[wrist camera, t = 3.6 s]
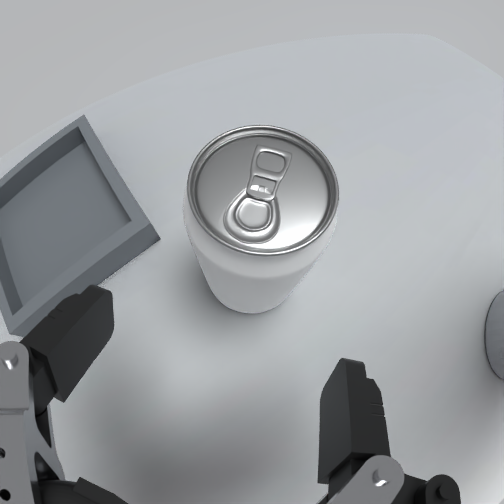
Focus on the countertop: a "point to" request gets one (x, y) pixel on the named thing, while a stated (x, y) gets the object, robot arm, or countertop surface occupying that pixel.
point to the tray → (64, 225)
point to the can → (259, 214)
